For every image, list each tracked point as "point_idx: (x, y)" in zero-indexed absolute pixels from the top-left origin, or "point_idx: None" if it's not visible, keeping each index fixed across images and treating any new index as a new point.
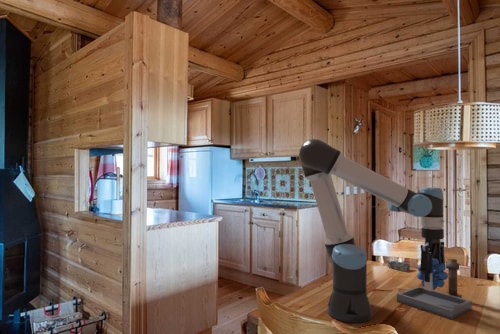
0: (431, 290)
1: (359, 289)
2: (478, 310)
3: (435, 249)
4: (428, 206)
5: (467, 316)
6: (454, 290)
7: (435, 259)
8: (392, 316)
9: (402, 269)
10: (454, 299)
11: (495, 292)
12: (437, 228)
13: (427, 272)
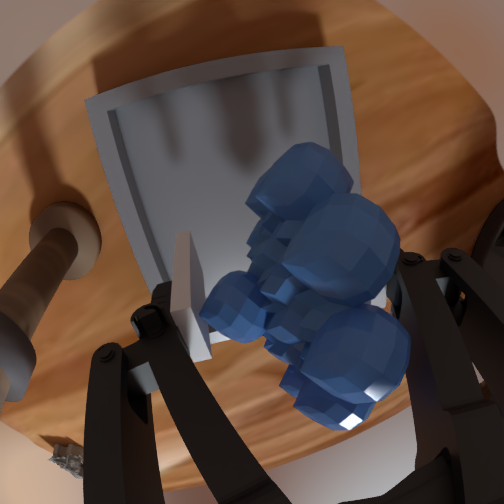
0: None
1: None
2: (84, 79)
3: (478, 497)
4: None
5: (213, 40)
6: (55, 243)
7: (402, 369)
8: (462, 187)
9: (81, 452)
10: (127, 172)
11: None
12: None
13: (453, 248)
